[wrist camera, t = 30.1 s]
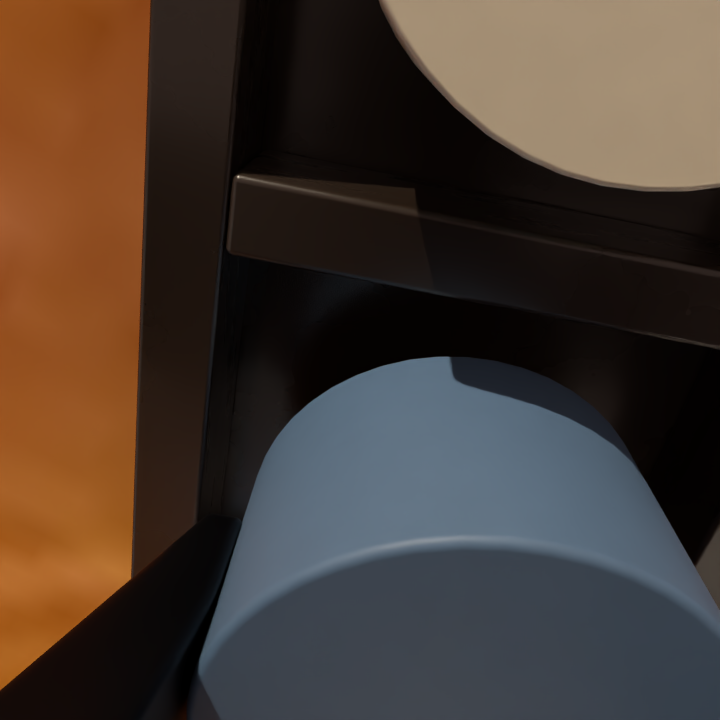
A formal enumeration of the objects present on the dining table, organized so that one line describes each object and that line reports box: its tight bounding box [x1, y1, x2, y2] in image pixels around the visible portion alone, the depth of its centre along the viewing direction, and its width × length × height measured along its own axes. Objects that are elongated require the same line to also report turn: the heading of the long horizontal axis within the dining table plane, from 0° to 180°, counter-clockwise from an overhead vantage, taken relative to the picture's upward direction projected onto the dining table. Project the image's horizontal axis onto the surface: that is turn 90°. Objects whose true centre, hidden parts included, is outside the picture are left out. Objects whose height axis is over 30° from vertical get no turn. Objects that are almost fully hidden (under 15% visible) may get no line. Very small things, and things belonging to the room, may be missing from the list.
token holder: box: [131, 0, 720, 610], centre depth 8 cm, size 8×16×2 cm, turn 169°
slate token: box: [186, 357, 720, 720], centre depth 7 cm, size 5×5×3 cm
